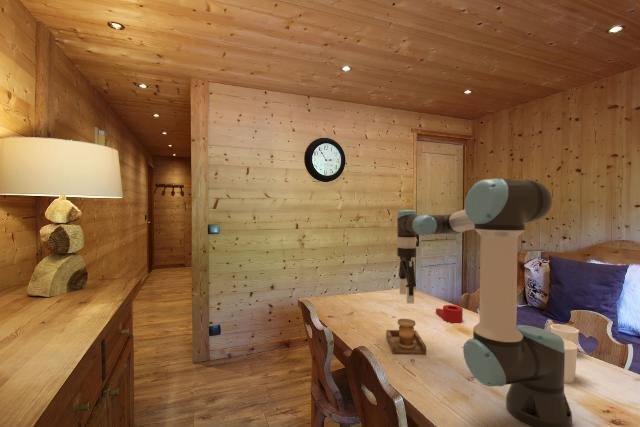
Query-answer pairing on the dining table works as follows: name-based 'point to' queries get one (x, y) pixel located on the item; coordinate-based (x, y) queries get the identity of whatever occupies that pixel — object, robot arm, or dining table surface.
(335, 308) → the dining table surface
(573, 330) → the mug
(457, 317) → the red watering can
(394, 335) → the wooden tray
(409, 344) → the bobbin
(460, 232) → the robot arm
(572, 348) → the candle holder
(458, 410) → the dining table surface
